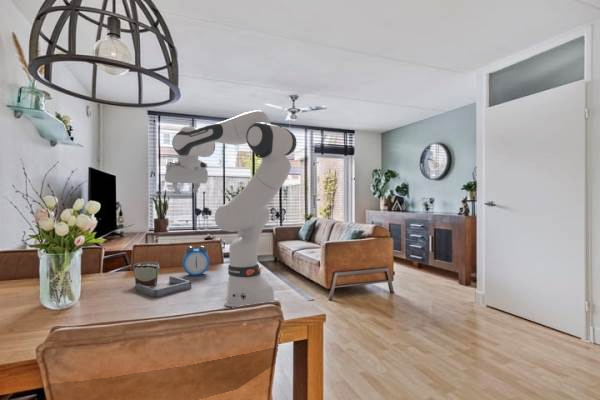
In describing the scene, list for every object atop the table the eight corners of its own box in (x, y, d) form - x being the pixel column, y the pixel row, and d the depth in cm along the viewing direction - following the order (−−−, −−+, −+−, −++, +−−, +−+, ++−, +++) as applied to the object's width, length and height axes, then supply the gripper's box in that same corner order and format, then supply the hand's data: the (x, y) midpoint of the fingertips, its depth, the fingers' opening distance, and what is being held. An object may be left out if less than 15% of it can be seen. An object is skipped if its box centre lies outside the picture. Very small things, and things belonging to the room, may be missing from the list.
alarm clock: (182, 277, 161) (182, 247, 160) (183, 274, 167) (183, 245, 166) (209, 275, 165) (209, 246, 165) (209, 272, 171) (209, 244, 170)
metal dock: (191, 287, 143) (191, 281, 143) (155, 297, 129) (154, 290, 129) (171, 281, 152) (171, 275, 152) (135, 290, 138) (135, 283, 138)
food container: (165, 283, 150) (165, 262, 150) (158, 286, 144) (157, 264, 144) (140, 282, 152) (140, 261, 151) (132, 285, 146) (132, 264, 145)
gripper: (170, 161, 135) (169, 193, 136) (210, 164, 151) (208, 193, 152) (162, 160, 138) (161, 192, 140) (202, 163, 155) (200, 192, 156)
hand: (186, 192), depth 146 cm, fingers open, 8 cm apart
